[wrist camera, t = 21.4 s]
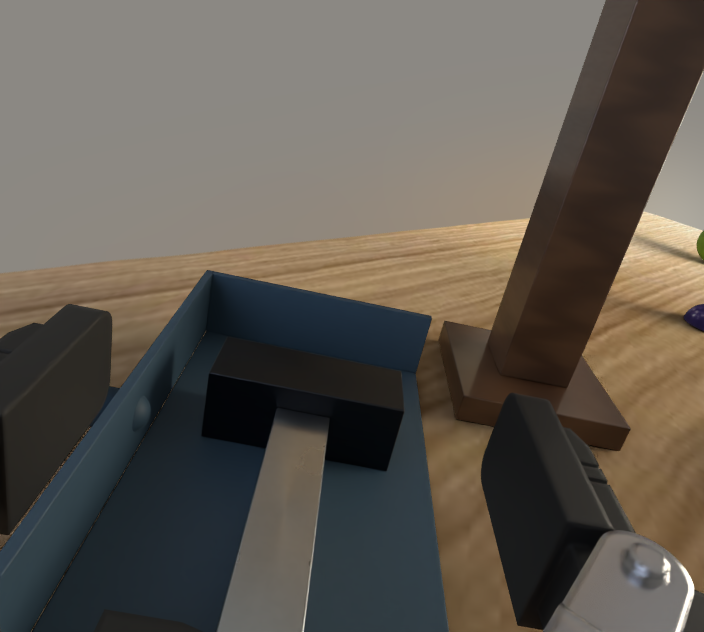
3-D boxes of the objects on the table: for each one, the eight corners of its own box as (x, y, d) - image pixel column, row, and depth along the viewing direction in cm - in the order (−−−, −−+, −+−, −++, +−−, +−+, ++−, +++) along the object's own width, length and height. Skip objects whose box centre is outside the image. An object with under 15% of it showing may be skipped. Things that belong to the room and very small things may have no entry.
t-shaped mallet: (394, 756, 15) (427, 678, 14) (81, 704, 15) (82, 619, 13) (385, 427, 28) (401, 370, 27) (219, 395, 27) (226, 335, 26)
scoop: (413, 375, 34) (431, 315, 32) (470, 842, 14) (524, 748, 12) (24, 298, 33) (22, 231, 31) (-517, 691, 13) (-601, 564, 11)
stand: (449, 435, 29) (806, -608, 15) (430, 335, 39) (634, -349, 25) (640, 472, 30) (1155, -501, 16) (573, 364, 40) (851, -289, 26)
